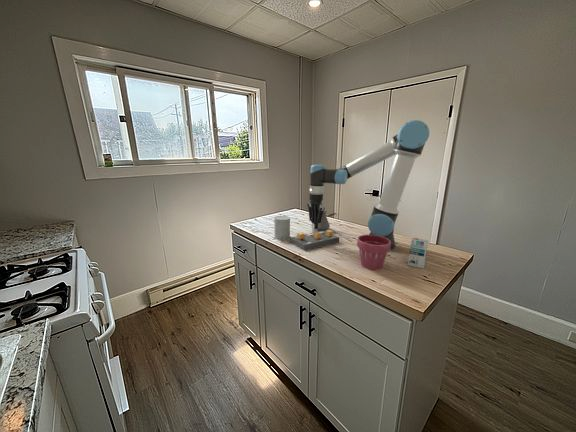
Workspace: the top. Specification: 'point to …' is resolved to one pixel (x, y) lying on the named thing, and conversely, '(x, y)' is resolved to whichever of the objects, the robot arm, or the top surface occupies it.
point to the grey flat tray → (313, 241)
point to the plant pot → (373, 250)
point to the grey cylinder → (282, 227)
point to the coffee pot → (324, 222)
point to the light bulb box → (418, 252)
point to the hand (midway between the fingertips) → (314, 233)
